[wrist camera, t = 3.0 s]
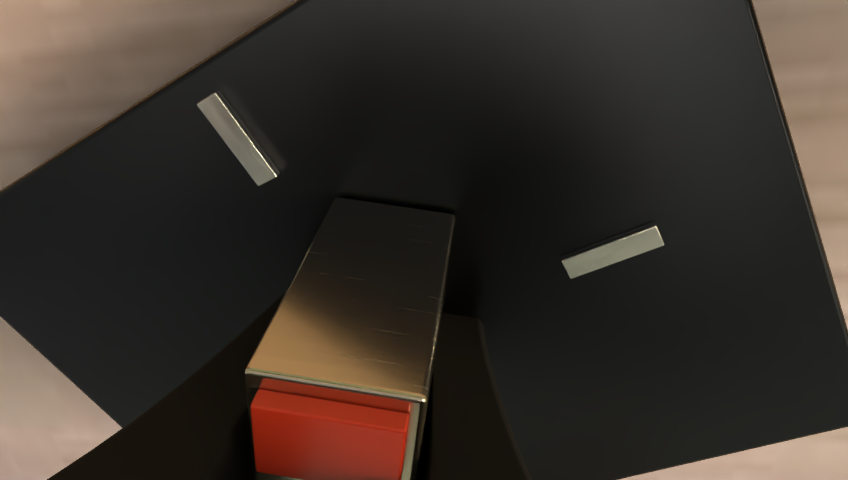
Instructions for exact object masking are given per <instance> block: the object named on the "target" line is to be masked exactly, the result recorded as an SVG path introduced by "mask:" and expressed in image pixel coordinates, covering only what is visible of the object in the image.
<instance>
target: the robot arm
mask: <svg viewBox="0 0 848 480" xmlns="http://www.w3.org/2000/svg"><path fill="white" fill-rule="evenodd" d="M284 294H285V292H284V293H283V294H282V295H281V296H279V297H278V298H277V299H276V300H275V301H274V302H273V303H272V304H271V305H270V306H269V307H268V308H267V309H266V310H264V311H263V312H262V313H261V314H260V315H259V316H258V317H257V318H256V319H255V320H254V321H253V322H252V323H250V324H249V325H248V326H247V327H246V328H245V329H244V330H243V331H242V332H241V333H239V334H238V335H237V336H236V337H235V338H234V339H233V340H232V341H231V342H229V343H228V344H227V345H226V346H225V347H224V348H222V349H221V350H220V351H219V352H218V353H217V354H215V355H214V356H213V357H212V358H211V359H210V360H208V361H207V362H206V363H205V364H204V365H203V366H201V367H200V368H199V369H198V370H197V371H196V372H194V373H193V374H192V375H191V376H190V377H188V378H187V379H186V380H185V381H184V382H182V383H181V384H180V385H179V386H177V387H176V388H175V389H173V390H172V391H171V392H170V393H168V394H167V395H166V396H164V397H163V398H162V399H160V400H159V401H158V402H157V403H155V404H154V405H153V406H151V407H150V408H149V409H148V410H146V411H145V412H144V413H142V414H141V415H140V416H139V417H137V418H136V419H135V420H133V421H132V422H131V423H129V424H128V425H126V426H125V427H124V428H122V429H121V430H120V431H118V432H117V433H115V434H114V435H113V436H111V437H110V438H108V439H107V440H106V441H104V442H103V443H101V444H100V445H98V446H97V447H95V448H94V449H93V450H91V451H90V452H88V453H87V454H85V455H84V456H82V457H81V458H79V459H78V460H76V461H75V462H73V463H72V464H70V465H69V466H67V467H66V468H64V469H63V470H61V471H60V472H58V473H57V474H55V475H53V476H52V477H50V478H49V479H47V480H254V470H253V459H252V448H251V437H250V425H249V414H248V403H247V391H246V380H245V369H246V367H247V365H248V363H249V361H250V359H251V357H252V355H253V353H254V352H255V350H256V348H257V346H258V344H259V342H260V340H261V338H262V336H263V334H264V332H265V330H266V329H267V327H268V325H269V323H270V321H271V319H272V317H273V315H274V313H275V311H276V309H277V308H278V306H279V304H280V302H281V300H282V298H283V296H284ZM417 480H532V479H531V477H530V475H529V472H528V470H527V468H526V465H525V463H524V461H523V458H522V455H521V453H520V450H519V448H518V445H517V443H516V440H515V437H514V435H513V432H512V429H511V426H510V423H509V421H508V418H507V415H506V412H505V409H504V406H503V404H502V401H501V397H500V394H499V391H498V388H497V385H496V381H495V377H494V374H493V370H492V367H491V363H490V359H489V355H488V350H487V345H486V339H485V333H484V325H483V324H482V322H481V321H480V320H479V319H478V318H473V317H467V316H460V315H454V314H447V313H442V316H441V322H440V329H439V335H438V341H437V348H436V354H435V361H434V367H433V374H432V381H431V388H430V394H429V401H428V408H427V415H426V422H425V429H424V436H423V442H422V449H421V456H420V463H419V470H418V477H417Z"/></svg>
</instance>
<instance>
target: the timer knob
mask: <svg viewBox="0 0 848 480" xmlns="http://www.w3.org/2000/svg"><path fill="white" fill-rule="evenodd" d="M455 221H456V218H455V215H453V214H450V213H443V212H436V211H429V210H423V209H416V208H409V207H402V206H395V205H388V204H382V203H375V202H368V201H361V200H354V199H348V198H341V197H337V198H335V199H334V201H333V202H332V204H331V206H330V208H329V210H328V212H327V214H326V216H325V218H324V220H323V222H322V223H321V225H320V227H319V229H318V231H317V233H316V235H315V237H314V239H313V241H312V243H311V244H310V246H309V248H308V250H307V252H306V254H305V256H304V258H303V260H302V262H301V264H300V266H299V267H298V269H297V271H296V273H295V275H294V277H293V279H292V281H291V283H290V285H289V287H288V288H287V290H286V292H285V294H284V296H283V298H282V300H281V302H280V304H279V306H278V308H277V309H276V311H275V313H274V315H273V317H272V319H271V321H270V323H269V325H268V327H267V329H266V330H265V332H264V334H263V336H262V338H261V340H260V342H259V344H258V346H257V348H256V350H255V352H254V353H253V355H252V357H251V359H250V361H249V363H248V365H247V367H246V369H245V380H246V391H247V403H248V414H249V425H250V437H251V448H252V459H253V470H254V480H417V477H418V470H419V463H420V456H421V449H422V442H423V436H424V429H425V422H426V415H427V408H428V401H429V394H430V388H431V381H432V374H433V367H434V361H435V354H436V348H437V341H438V335H439V329H440V322H441V316H442V310H443V303H444V296H445V290H446V283H447V276H448V269H449V262H450V256H451V249H452V242H453V235H454V228H455Z"/></svg>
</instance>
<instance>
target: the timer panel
mask: <svg viewBox="0 0 848 480" xmlns="http://www.w3.org/2000/svg"><path fill="white" fill-rule="evenodd" d="M337 197H341V198H348V199H354V200H361V201H368V202H375V203H382V204H388V205H395V206H402V207H409V208H416V209H423V210H429V211H436V212H443V213H450V214H453V215H455V218H456V221H455V228H454V235H453V242H452V249H451V256H450V262H449V269H448V276H447V283H446V290H445V296H444V303H443V310H442V313H447V314H454V315H460V316H467V317H473V318H478V319H479V320H480V321H481V322H482V324H483V325H484V333H485V339H486V345H487V350H488V355H489V359H490V363H491V367H492V370H493V374H494V377H495V381H496V385H497V388H498V391H499V394H500V397H501V401H502V404H503V406H504V409H505V412H506V415H507V418H508V421H509V423H510V426H511V429H512V432H513V435H514V437H515V440H516V443H517V445H518V448H519V450H520V453H521V455H522V458H523V461H524V463H525V465H526V468H527V470H528V472H529V475H530V477H531V479H532V480H618V479H622V478H627V477H631V476H635V475H640V474H644V473H648V472H653V471H657V470H661V469H666V468H670V467H675V466H679V465H683V464H688V463H692V462H696V461H701V460H705V459H709V458H714V457H718V456H722V455H727V454H731V453H735V452H740V451H744V450H748V449H753V448H757V447H762V446H766V445H770V444H775V443H779V442H783V441H788V440H792V439H796V438H801V437H805V436H809V435H814V434H818V433H822V432H827V431H831V430H836V429H840V428H844V427H848V329H847V326H846V322H845V319H844V316H843V312H842V309H841V305H840V302H839V298H838V295H837V292H836V288H835V285H834V281H833V278H832V274H831V271H830V267H829V264H828V261H827V257H826V254H825V250H824V247H823V243H822V240H821V237H820V233H819V230H818V226H817V223H816V219H815V216H814V212H813V209H812V206H811V202H810V199H809V195H808V192H807V188H806V185H805V182H804V178H803V175H802V171H801V168H800V164H799V161H798V157H797V154H796V151H795V147H794V144H793V140H792V137H791V133H790V130H789V127H788V123H787V120H786V116H785V113H784V109H783V106H782V102H781V99H780V96H779V92H778V89H777V85H776V82H775V78H774V75H773V72H772V68H771V65H770V61H769V58H768V54H767V51H766V47H765V44H764V41H763V37H762V34H761V30H760V27H759V23H758V20H757V17H756V13H755V10H754V6H753V3H752V0H296V1H295V2H293V3H291V4H290V5H288V6H287V7H285V8H284V9H282V10H281V11H279V12H277V13H276V14H274V15H273V16H271V17H270V18H268V19H267V20H265V21H263V22H262V23H260V24H259V25H257V26H256V27H254V28H253V29H251V30H249V31H248V32H246V33H245V34H243V35H242V36H240V37H239V38H237V39H235V40H234V41H232V42H231V43H229V44H228V45H226V46H225V47H223V48H221V49H220V50H218V51H217V52H215V53H214V54H212V55H211V56H209V57H207V58H206V59H204V60H203V61H201V62H200V63H198V64H197V65H195V66H193V67H192V68H190V69H189V70H187V71H186V72H184V73H183V74H181V75H180V76H178V77H176V78H175V79H173V80H172V81H170V82H169V83H167V84H166V85H164V86H162V87H161V88H159V89H158V90H156V91H155V92H153V93H152V94H150V95H148V96H147V97H145V98H144V99H142V100H141V101H139V102H138V103H136V104H134V105H133V106H131V107H130V108H128V109H127V110H125V111H124V112H122V113H120V114H119V115H117V116H116V117H114V118H113V119H111V120H110V121H108V122H106V123H105V124H103V125H102V126H100V127H99V128H97V129H96V130H94V131H92V132H91V133H89V134H88V135H86V136H85V137H83V138H82V139H80V140H78V141H77V142H75V143H74V144H72V145H71V146H69V147H68V148H66V149H64V150H63V151H61V152H60V153H58V154H57V155H55V156H54V157H52V158H50V159H49V160H47V161H46V162H44V163H43V164H41V165H40V166H38V167H36V168H35V169H33V170H32V171H30V172H29V173H27V174H26V175H24V176H23V177H21V178H19V179H18V180H16V181H15V182H13V183H12V184H10V185H9V186H7V187H6V188H4V189H2V190H1V191H0V316H1V317H2V318H3V319H4V320H5V321H6V322H7V323H8V324H9V325H10V326H11V327H13V328H14V329H15V330H16V331H17V332H18V333H19V334H20V335H21V336H22V337H24V338H25V339H26V340H27V341H28V342H29V343H30V344H31V345H32V346H33V347H34V348H36V349H37V350H38V351H39V352H40V353H41V354H42V355H43V356H44V357H45V358H47V359H48V360H49V361H50V362H51V363H52V364H53V365H54V366H55V367H56V368H57V369H59V370H60V371H61V372H62V373H63V374H64V375H65V376H66V377H67V378H68V379H70V380H71V381H72V382H73V383H74V384H75V385H76V386H77V387H78V388H79V389H80V390H82V391H83V392H84V393H85V394H86V395H87V396H88V397H89V398H90V399H91V400H93V401H94V402H95V403H96V404H97V405H98V406H99V407H100V408H101V409H102V410H103V411H105V412H106V413H107V414H108V415H109V416H110V417H111V418H112V419H113V420H114V421H116V422H117V423H118V424H119V425H120V426H121V427H122V428H124V427H125V426H126V425H128V424H129V423H131V422H132V421H133V420H135V419H136V418H137V417H139V416H140V415H141V414H142V413H144V412H145V411H146V410H148V409H149V408H150V407H151V406H153V405H154V404H155V403H157V402H158V401H159V400H160V399H162V398H163V397H164V396H166V395H167V394H168V393H170V392H171V391H172V390H173V389H175V388H176V387H177V386H179V385H180V384H181V383H182V382H184V381H185V380H186V379H187V378H188V377H190V376H191V375H192V374H193V373H194V372H196V371H197V370H198V369H199V368H200V367H201V366H203V365H204V364H205V363H206V362H207V361H208V360H210V359H211V358H212V357H213V356H214V355H215V354H217V353H218V352H219V351H220V350H221V349H222V348H224V347H225V346H226V345H227V344H228V343H229V342H231V341H232V340H233V339H234V338H235V337H236V336H237V335H238V334H239V333H241V332H242V331H243V330H244V329H245V328H246V327H247V326H248V325H249V324H250V323H252V322H253V321H254V320H255V319H256V318H257V317H258V316H259V315H260V314H261V313H262V312H263V311H264V310H266V309H267V308H268V307H269V306H270V305H271V304H272V303H273V302H274V301H275V300H276V299H277V298H278V297H279V296H281V295H282V294H283V293H284V292H286V290H287V288H288V287H289V285H290V283H291V281H292V279H293V277H294V275H295V273H296V271H297V269H298V267H299V266H300V264H301V262H302V260H303V258H304V256H305V254H306V252H307V250H308V248H309V246H310V244H311V243H312V241H313V239H314V237H315V235H316V233H317V231H318V229H319V227H320V225H321V223H322V222H323V220H324V218H325V216H326V214H327V212H328V210H329V208H330V206H331V204H332V202H333V201H334V199H335V198H337Z"/></svg>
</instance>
